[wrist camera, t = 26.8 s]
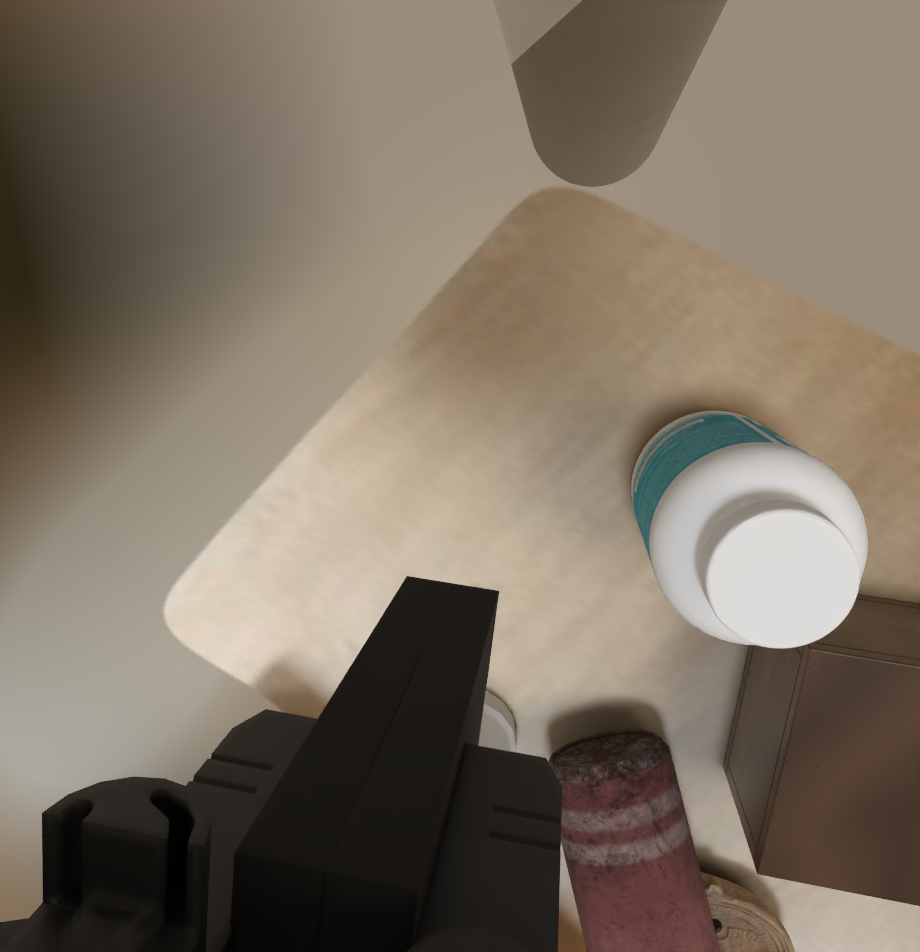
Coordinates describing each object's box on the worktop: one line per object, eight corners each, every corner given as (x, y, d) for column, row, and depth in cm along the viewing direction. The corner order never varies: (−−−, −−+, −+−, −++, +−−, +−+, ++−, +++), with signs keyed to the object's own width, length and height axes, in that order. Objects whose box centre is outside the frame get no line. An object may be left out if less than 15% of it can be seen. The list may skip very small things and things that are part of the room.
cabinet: (1034, 621, 37) (1154, 704, 29) (976, 813, 39) (1072, 936, 31) (763, 579, 38) (810, 648, 31) (722, 767, 41) (756, 874, 33)
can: (695, 728, 38) (772, 1029, 36) (593, 727, 42) (658, 994, 41) (622, 773, 34) (705, 1115, 32) (518, 767, 38) (587, 1065, 37)
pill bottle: (617, 544, 39) (638, 665, 26) (644, 397, 37) (682, 447, 24) (772, 570, 38) (874, 708, 25) (806, 420, 36) (937, 486, 23)
